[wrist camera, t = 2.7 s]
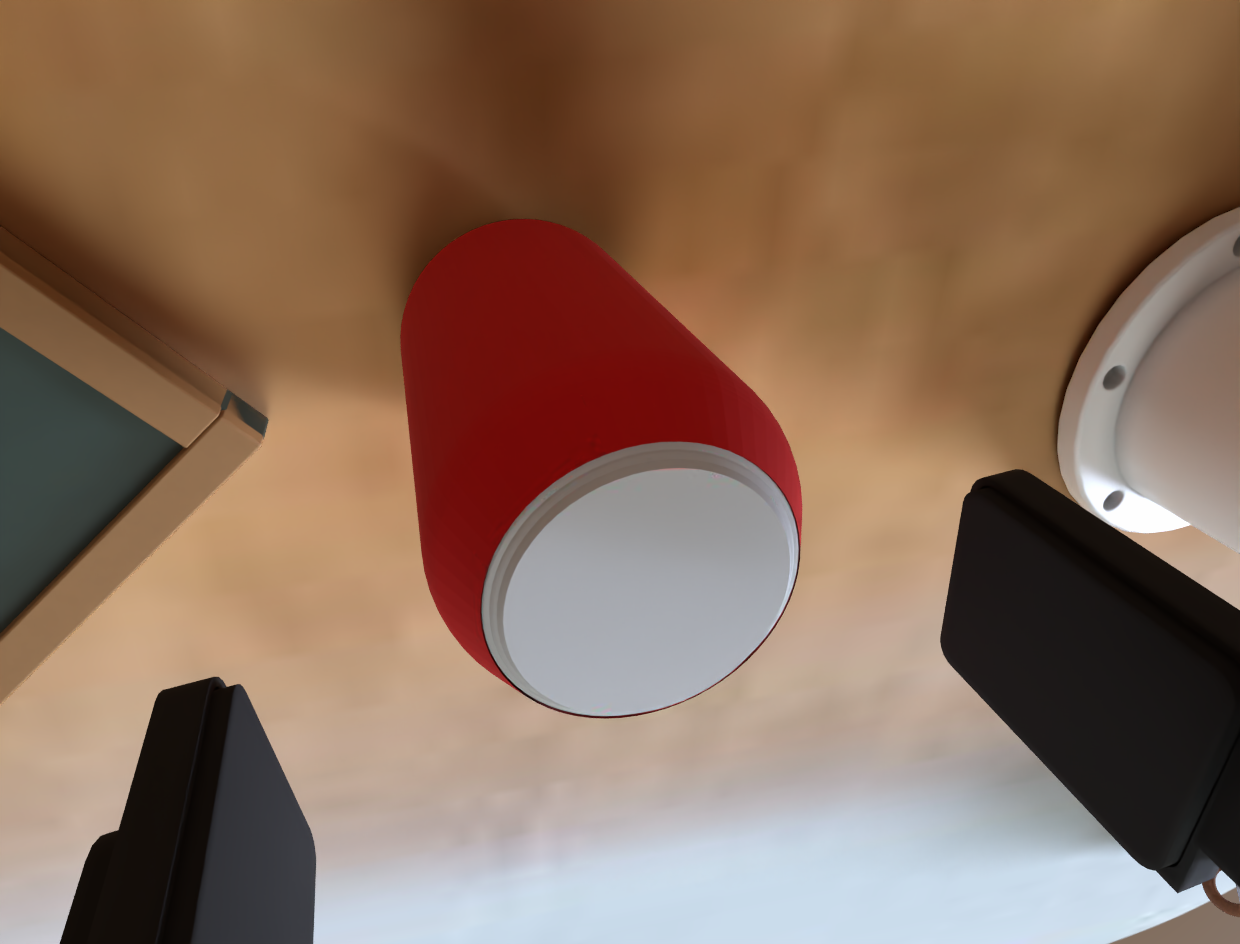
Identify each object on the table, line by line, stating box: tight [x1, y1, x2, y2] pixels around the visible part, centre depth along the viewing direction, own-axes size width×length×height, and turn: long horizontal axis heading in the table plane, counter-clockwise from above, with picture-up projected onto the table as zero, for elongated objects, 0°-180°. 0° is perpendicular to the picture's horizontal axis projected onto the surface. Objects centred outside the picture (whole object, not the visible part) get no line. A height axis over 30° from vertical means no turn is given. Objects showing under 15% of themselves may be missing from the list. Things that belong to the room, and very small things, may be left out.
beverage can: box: [400, 219, 802, 718], centre depth 16 cm, size 6×6×12 cm
